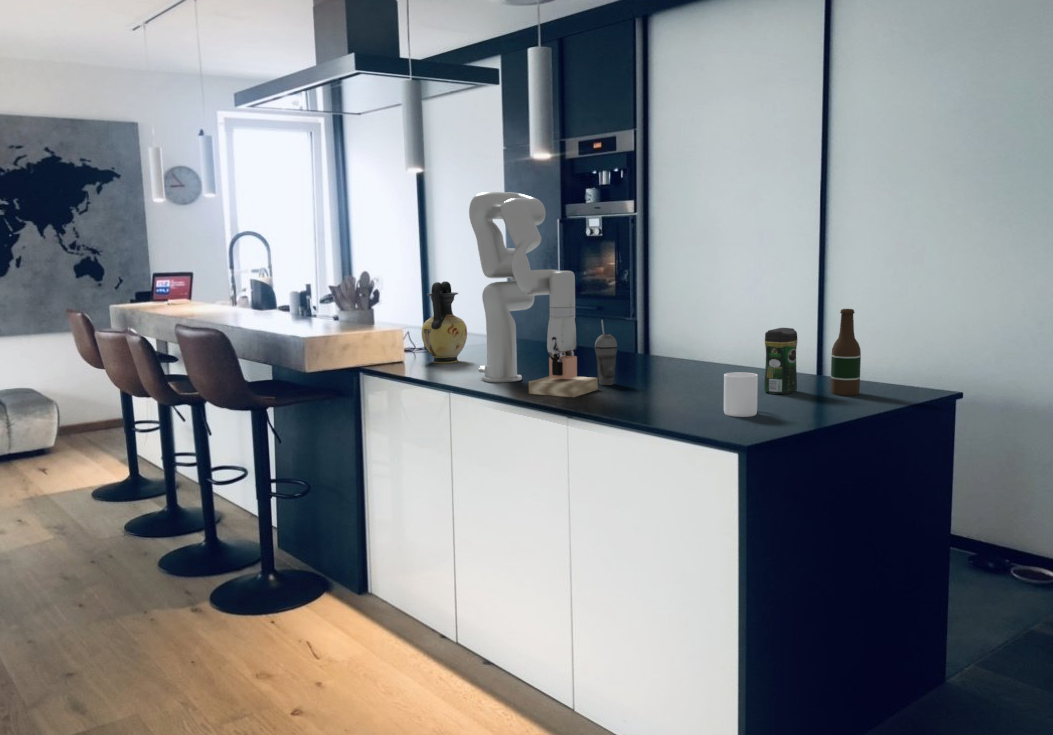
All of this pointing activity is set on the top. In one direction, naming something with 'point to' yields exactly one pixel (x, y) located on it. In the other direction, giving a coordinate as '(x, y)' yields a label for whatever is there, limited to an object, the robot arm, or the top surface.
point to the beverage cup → (606, 357)
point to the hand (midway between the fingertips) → (563, 373)
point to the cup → (740, 394)
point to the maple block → (563, 386)
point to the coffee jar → (780, 361)
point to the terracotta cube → (565, 367)
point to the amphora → (443, 326)
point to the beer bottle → (846, 358)
